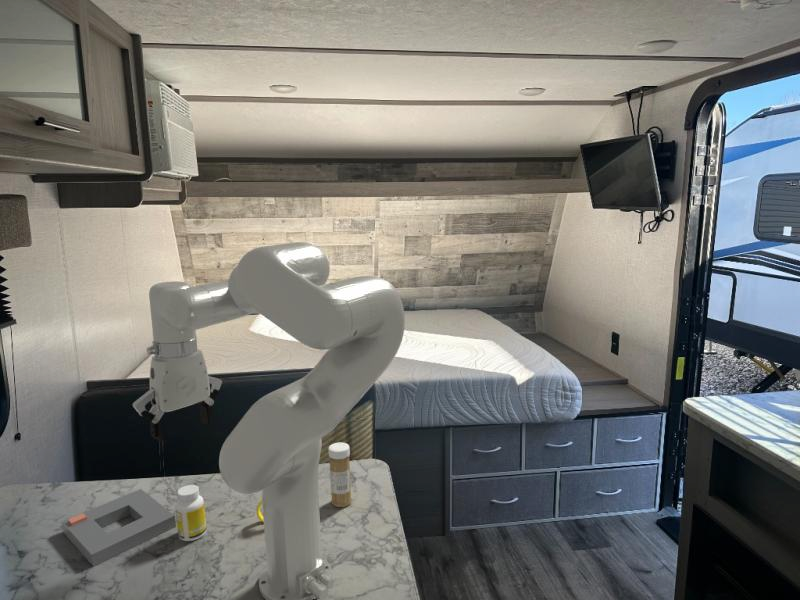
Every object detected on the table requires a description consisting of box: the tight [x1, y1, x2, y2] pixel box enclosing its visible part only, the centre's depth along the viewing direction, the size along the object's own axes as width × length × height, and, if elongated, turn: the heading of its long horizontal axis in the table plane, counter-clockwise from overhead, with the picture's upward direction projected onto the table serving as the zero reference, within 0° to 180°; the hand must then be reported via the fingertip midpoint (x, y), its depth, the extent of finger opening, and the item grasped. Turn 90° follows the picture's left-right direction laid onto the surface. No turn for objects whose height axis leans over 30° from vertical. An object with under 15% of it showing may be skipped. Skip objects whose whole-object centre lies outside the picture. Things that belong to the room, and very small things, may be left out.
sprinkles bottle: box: [327, 442, 352, 508], centre depth 119 cm, size 5×5×13 cm
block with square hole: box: [61, 488, 177, 567], centre depth 112 cm, size 16×16×3 cm
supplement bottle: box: [174, 484, 208, 542], centre depth 109 cm, size 5×5×10 cm
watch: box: [256, 499, 264, 523], centre depth 114 cm, size 6×3×6 cm, turn 92°
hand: (183, 431), depth 107 cm, fingers open, 9 cm apart
